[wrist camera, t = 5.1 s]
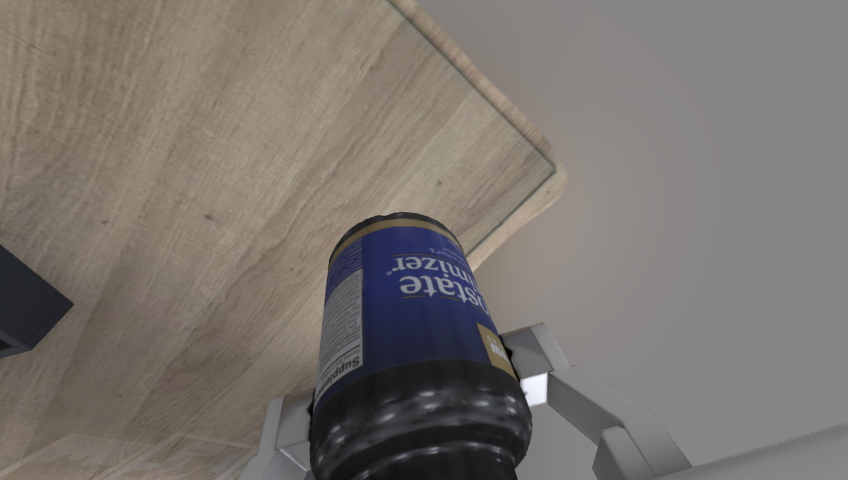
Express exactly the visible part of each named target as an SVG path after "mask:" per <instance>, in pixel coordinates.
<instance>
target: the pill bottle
mask: <svg viewBox="0 0 848 480" xmlns="http://www.w3.org/2000/svg"><path fill="white" fill-rule="evenodd" d="M532 426H533V425H532V415H531V412H530V410H529V406H528V402H527V400H526V398H525V395H524V393H523V390H522V388H521V386H520V384H519V382H518V379H517V377H516V375H515V372H514V370H513V368H512V365H511V363H510V360H509V358H508V356H507V354H506V351H505V349H504V347H503V345H502V342H501V340H500V337H499V335H498V333H497V330H496V327H495V325H494V323H493V321H492V318H491V316H490V314H489V312H488V309H487V307H486V304H485V302H484V300H483V297H482V295H481V293H480V290H479V288H478V286H477V283H476V281H475V279H474V276H473V274H472V271H471V269H470V267H469V264H468V262H467V260H466V257H465V255H464V252H463V249H462V246H461V245H460V243H459V242H458V240H457V239H456V237H455V236H454V234H453V233H452V232H451V231H449V230H448V229H447V228H446V227H445V226H444V225H443V224H441V223H440V222H438V221H437V220H434V219H432V218H430V217H428V216H424V215H420V214H417V213H408V212H399V213H392V214H390V215H387V216H382V215H377V216H374V217H371V218H368V219H366V220H364V221H362V222H360V223H358V224H357V225H355V226H354V227H352V228H351V229H350V230H349V231H348V232H347V233H346V234H345V235H344V236H343V237H342V238H341V240H340V241H339V242H338V244H337V245H336V247H335V249H334V250H333V252H332V254H331V257H330V259H329V265H328V276H327V284H326V293H325V303H324V313H323V322H322V332H321V343H320V352H319V362H318V372H317V380H316V391H315V401H314V410H313V418H312V430H311V435H310V449H309V453H310V460H309V461H310V467H311V470H312V472H313V474H314V477H315V480H517V476H516V473H515V468H516V467H517V466H518V465H519V464H520V462H521V461H522V460H523V458H524V457H525V456H526V452H527V450H528V446H529V444H530V439H531V433H532Z"/></svg>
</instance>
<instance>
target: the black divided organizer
mask: <svg viewBox="0 0 848 480" xmlns="http://www.w3.org/2000/svg"><path fill="white" fill-rule="evenodd" d="M73 305H74V304H73V303H72V302H70V301H69V300H68V299H67V298H65V297H64V296H63V295H62V294H61V293H59V292H58V291H57V290H56V289H54V288H53V287H52V286H51V285H49V284H48V283H47V282H46V281H44V280H43V279H42V278H41V277H39V276H38V275H37V274H36V273H34V272H33V271H32V270H31V269H29V268H28V267H27V266H26V265H24V264H23V263H22V262H21V261H19V260H18V259H17V258H16V257H15V256H13V255H12V254H11V253H10V252H8V251H7V250H6V249H5V248H3V247H2V246H1V245H0V358H4V357H8V356H12V355H15V354H19V353H23V352H26V351H30V350H32V349H33V348H34V347H35V346H36V345H37V344H38V343H39V342H40V341H41V339H42V338H43V337H44V336H45V335H46V334H47V333H48V332H49V331H50V330H51V329H52V328H53V327H54V326H55V324H56V323H57V322H58V321H59V320H60V319H61V318H62V317H63V316H64V315H65V314H66V313H67V312H68V311H69V309H71V308H72V306H73Z"/></svg>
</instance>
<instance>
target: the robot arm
mask: <svg viewBox="0 0 848 480" xmlns="http://www.w3.org/2000/svg"><path fill="white" fill-rule="evenodd" d="M499 337H500V340H501V342H502V345H503V347H504V349H505V351H506V354H507V356H508V358H509V360H510V363H511V365H512V368H513V370H514V372H515V375H516V377H517V379H518V382H519V384H520V386H521V388H522V390H523V393H524V395H525V398H526V400H527V402H528V406H529V407H532V406H536V405H540V404H544V403H548V405H550V406H551V407H552V408H553V409H554V410H556V411H557V412H558V413H559V414H560V415H561V416H563V417H564V418H565V419H566V420H567V421H569V422H570V423H571V424H572V425H573V426H574V427H576V428H577V429H578V430H579V431H580V432H582V433H583V434H584V435H585V436H587V437H588V438H589V439H590V440H591V441H592V442H594V443H595V444H596V445H597V446H598V449H597V453H596V456H595V460H594V463H593V467H592V469H593V471H594V473H595V475H596V477H597V479H598V480H848V422H846V423H843V424H839V425H835V426H832V427H829V428H825V429H822V430H818V431H815V432H811V433H808V434H805V435H801V436H798V437H794V438H791V439H787V440H784V441H780V442H777V443H773V444H770V445H767V446H763V447H760V448H756V449H753V450H750V451H746V452H743V453H739V454H736V455H733V456H729V457H725V458H722V459H718V460H715V461H712V462H708V463H705V464H702V465H698V466H694V467H693V466H692V465H691V464H690V462H689V461H688V459H687V458H686V457H685V455H684V454H683V453H682V451H681V450H680V448H679V447H678V446H677V444H676V443H675V442H674V440H673V439H672V437H671V436H670V435H669V433H668V432H667V431H666V430H665V428H664V426H663V425H662V424H661V422H660V421H659V420H658V418H657V417H656V416H655V414H654V413H652V412H650V411H649V410H647V409H646V408H644V407H642V406H640V405H639V404H637V403H636V402H634V401H633V400H631V399H629V398H628V397H626V396H625V395H623V394H621V393H620V392H618V391H616V390H615V389H613V388H612V387H610V386H608V385H607V384H605V383H604V382H602V381H600V380H599V379H597V378H595V377H594V376H592V375H590V374H589V373H587V372H586V371H584V370H583V369H581V368H579V367H578V366H576V365H573V366H570V364H569V362H568V361H567V359H566V358H565V356H564V354H563V353H562V351H561V349H560V347H559V346H558V344H557V343H556V341H555V339H554V338H553V336H552V334H551V333H550V331H549V329H548V328H547V326H546V325H545V324H544V323H539V324H536V325H532V326H529V327H524V328H521V329H517V330H514V331H510V332H508V333H504V334H501V335H499ZM315 391H316V387H314V388H310V389H306V390H303V391H299V392H295V393H292V394H288V395H284V396H280V397H277V398H273V399H271V400H270V402H269V403H268V405H267V409H266V414H265V419H264V423H263V428H262V433H261V437H260V442H259V447H258V451H257V455H256V456H253V457H252V458H251V459H250V460H249V462H248V463H247V465H246V466H245V468H244V469H243V471H242V472H241V473H240V475H239V476H238V478H237V479H236V480H304V478H305V476H306V471H309V470H311V467H310V461H309V460H310V453H309V449H310V435H311V430H312V418H313V410H314V401H315Z"/></svg>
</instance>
